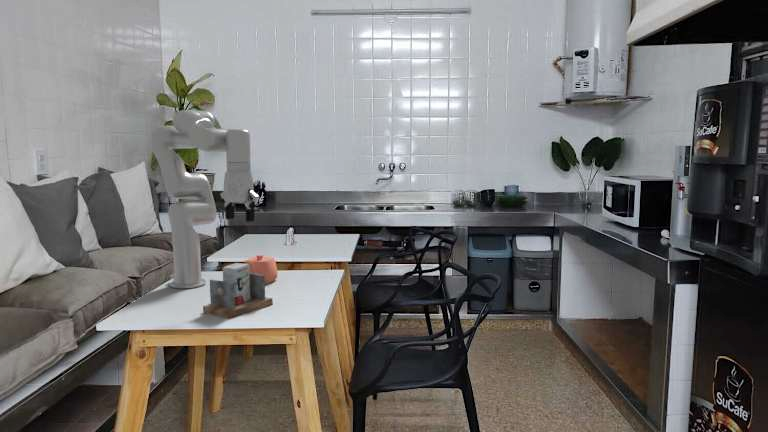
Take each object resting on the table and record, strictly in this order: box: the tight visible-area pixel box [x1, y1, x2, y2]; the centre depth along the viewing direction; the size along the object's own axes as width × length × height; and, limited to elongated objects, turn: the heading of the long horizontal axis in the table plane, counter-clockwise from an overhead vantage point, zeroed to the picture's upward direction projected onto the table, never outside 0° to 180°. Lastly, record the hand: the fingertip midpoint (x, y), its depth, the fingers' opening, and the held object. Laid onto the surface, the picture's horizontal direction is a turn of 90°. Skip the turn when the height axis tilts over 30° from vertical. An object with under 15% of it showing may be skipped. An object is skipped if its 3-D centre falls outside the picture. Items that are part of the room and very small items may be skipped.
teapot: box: [243, 254, 279, 285], centre depth 218 cm, size 12×18×10 cm, turn 169°
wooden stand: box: [202, 273, 274, 319], centre depth 182 cm, size 12×18×10 cm, turn 147°
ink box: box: [222, 262, 250, 305], centre depth 182 cm, size 9×5×12 cm, turn 163°
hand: (239, 220), depth 188 cm, fingers open, 9 cm apart
